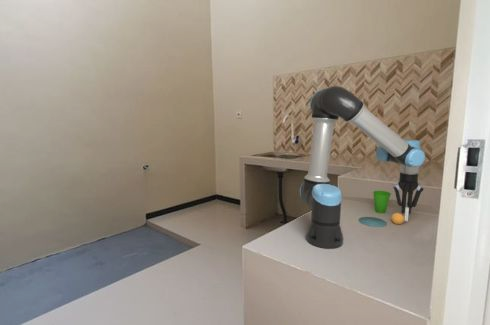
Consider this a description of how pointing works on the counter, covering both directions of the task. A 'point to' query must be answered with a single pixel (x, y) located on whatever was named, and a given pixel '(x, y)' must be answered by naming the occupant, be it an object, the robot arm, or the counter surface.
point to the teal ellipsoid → (372, 221)
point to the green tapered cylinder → (381, 201)
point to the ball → (397, 218)
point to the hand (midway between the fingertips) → (405, 219)
